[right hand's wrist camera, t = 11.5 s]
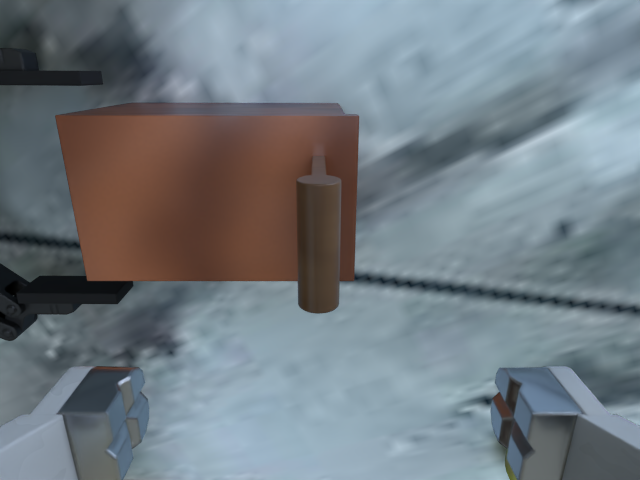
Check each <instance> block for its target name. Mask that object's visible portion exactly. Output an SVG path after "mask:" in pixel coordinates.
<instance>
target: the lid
mask: <svg viewBox="0 0 640 480" xmlns="http://www.w3.org/2000/svg"><path fill="white" fill-rule="evenodd" d="M55 117H56V122H57V128H58V133H59V138H60V143H61V148H62V153H63V159H64V164H65V169H66V174H67V179H68V184H69V189H70V195H71V200H72V205H73V210H74V215H75V220H76V226H77V231H78V236H79V241H80V246H81V251H82V256H83V262H84V267H85V272H86V277H87V281H298V304H299V306H300V308H301V309H303V310H305V311H307V312H311V313H327V312H330V311H333V310H335V309H336V308H337V307H338V305H339V281H354V266H355V234H356V201H357V168H358V136H359V116H358V115H357V114H60V115H56V116H55Z"/></svg>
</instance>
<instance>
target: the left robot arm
mask: <svg viewBox="0 0 640 480" xmlns="http://www.w3.org/2000/svg"><path fill="white" fill-rule="evenodd" d="M100 84H103V81H102V74H101V71H39V68H38V63H37V58H36V53H34V52H31V51H29V50H26V49H14V48H0V85H69V86H83V85H100ZM132 287H133V281H87V277H86V276H39V277H38V278H36V279H35V280H33V281H32V282H31V283H29V282H28V281H26V280H25V279H23V278H22V277H20V276H19V275H17V274H16V273H14V272H13V271H11V270H9V269H8V268H6V267H5V266H3V265H2V264H0V338H2V339H4V340H8V341H12V340H14V339H16V338H17V337H18V336H19V335H20V334H22V333H23V332H24V331H25V330H26V329H27V328H28V327H29V326H31V325H32V324H33V323H34V322H35V321H36V320H37V314H69V313H72V312H74V311H75V310H76V309H77V308H78V307H79V306H80V305H81V304H118V303H119V302H120V301H121V300H122V298H123V297H124V296H125V295H126V294H127V293H128V291H129V290H130V289H131V288H132Z"/></svg>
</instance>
